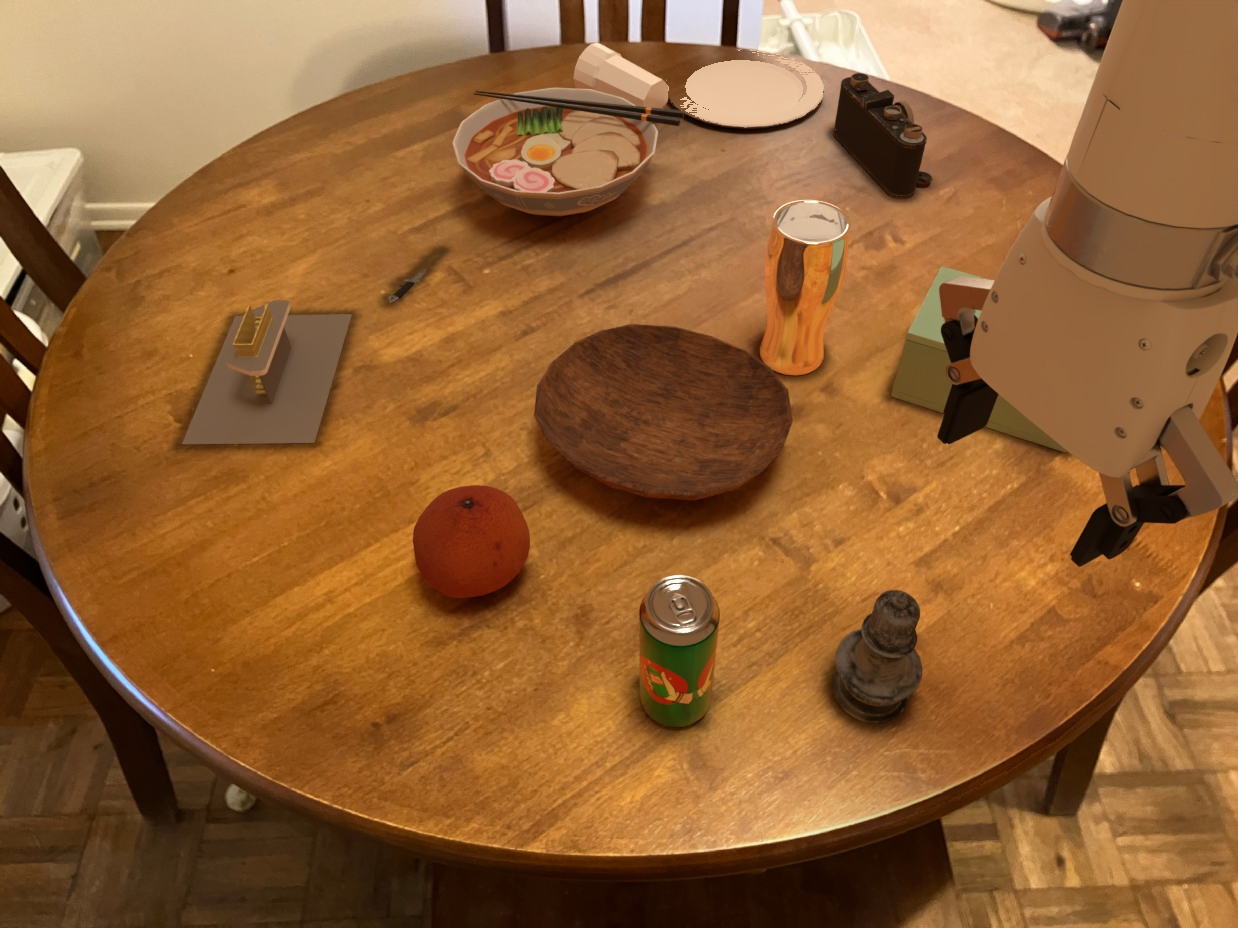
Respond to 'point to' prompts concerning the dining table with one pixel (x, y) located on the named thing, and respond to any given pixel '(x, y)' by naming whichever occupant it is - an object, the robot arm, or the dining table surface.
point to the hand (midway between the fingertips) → (1024, 489)
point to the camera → (881, 136)
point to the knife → (405, 287)
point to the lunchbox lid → (934, 312)
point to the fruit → (471, 541)
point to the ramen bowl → (558, 148)
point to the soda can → (677, 650)
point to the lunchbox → (930, 388)
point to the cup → (618, 77)
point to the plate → (751, 93)
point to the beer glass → (802, 282)
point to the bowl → (663, 411)
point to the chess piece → (880, 661)
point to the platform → (270, 378)
